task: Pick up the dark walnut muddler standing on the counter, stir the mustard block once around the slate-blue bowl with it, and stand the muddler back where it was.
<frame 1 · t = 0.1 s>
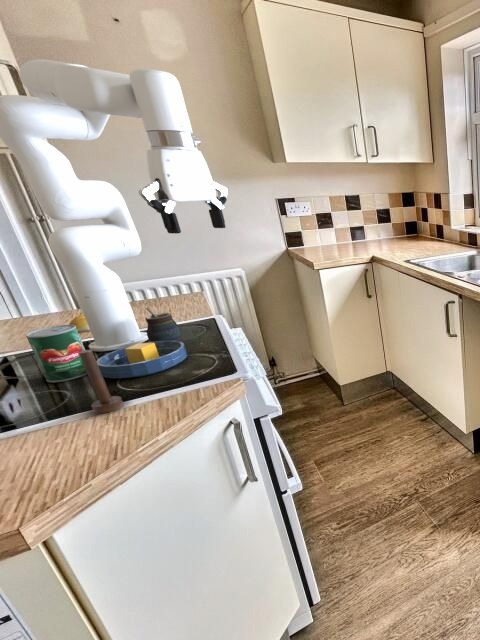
hand: (198, 230, 91), 31 cm above the worktop, tool pointing down, fingers open, 9 cm apart
canned tomato: (71, 375, 98), on the worktop
mate gourd: (167, 344, 116), on the worktop
muddler: (109, 408, 82), on the worktop
bowl: (146, 365, 102), on the worktop
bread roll: (89, 328, 131), on the worktop
block: (145, 361, 103), point 1 cm above the worktop, touching bowl
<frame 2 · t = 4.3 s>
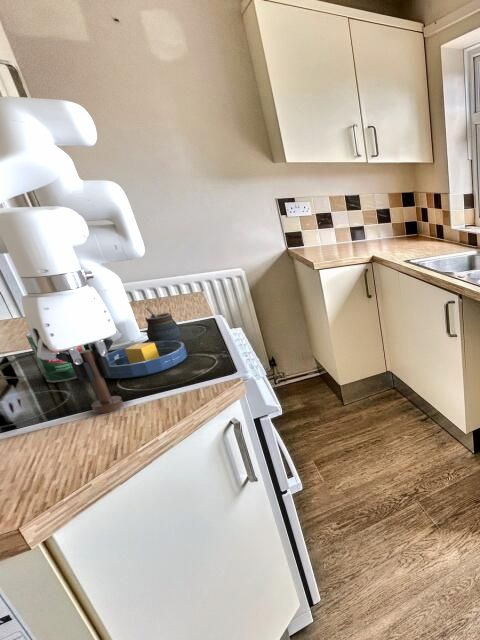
hand: (96, 377, 80), 7 cm above the worktop, tool pointing down, fingers closed on muddler
muddler: (109, 407, 82), on the worktop, touching gripper
everything else where it was.
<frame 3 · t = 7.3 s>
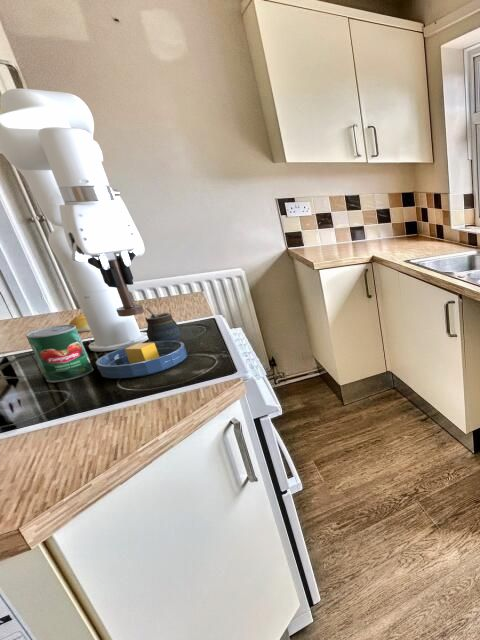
hand: (120, 285, 91), 21 cm above the worktop, tool pointing down, fingers closed on muddler
muddler: (131, 313, 94), point 14 cm above the worktop, touching gripper
everything else where it was.
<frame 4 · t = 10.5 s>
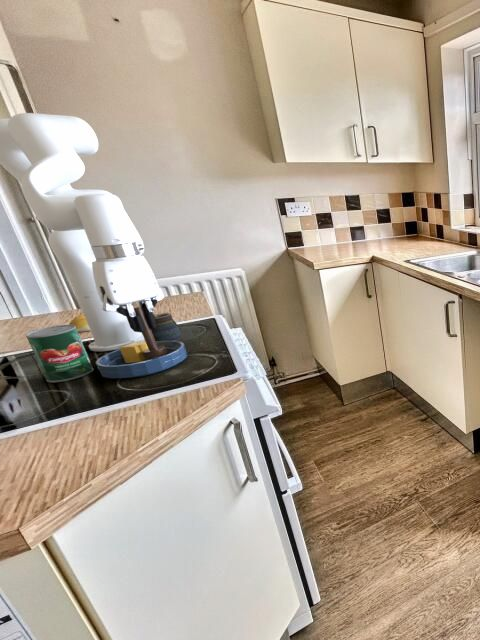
hand: (145, 329, 101), 9 cm above the worktop, tool pointing down, fingers closed on muddler
muddler: (155, 354, 103), point 2 cm above the worktop, touching block, gripper
block: (140, 359, 103), point 1 cm above the worktop, touching bowl, muddler
everything else where it was.
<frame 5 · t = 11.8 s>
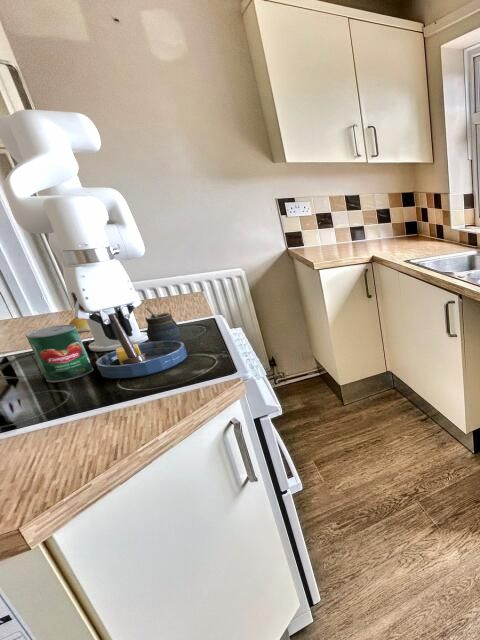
hand: (120, 336, 97), 8 cm above the worktop, tool pointing down, fingers closed on muddler
muddler: (136, 362, 98), point 2 cm above the worktop, tilted 14°, touching gripper
block: (132, 363, 102), point 1 cm above the worktop, touching bowl
everything else where it was.
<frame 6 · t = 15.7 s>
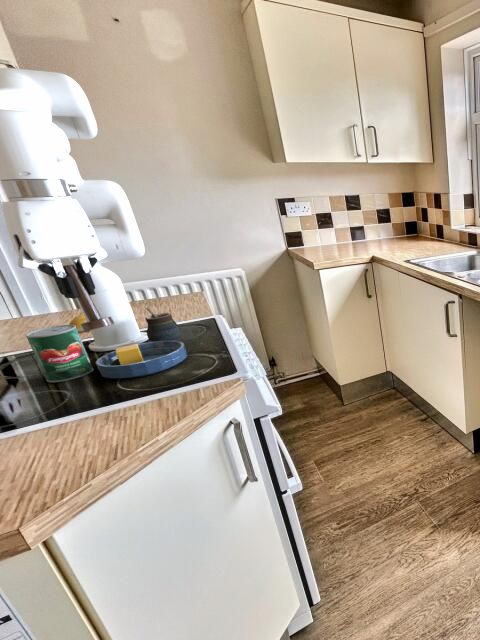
hand: (80, 295, 79), 22 cm above the worktop, tool pointing down, fingers closed on muddler
muddler: (99, 327, 80), point 15 cm above the worktop, tilted 13°, touching gripper
everything else where it was.
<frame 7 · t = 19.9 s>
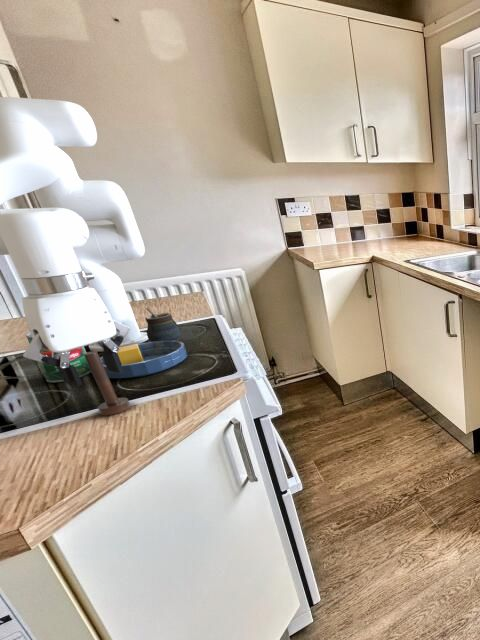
hand: (96, 377, 80), 7 cm above the worktop, tool pointing down, fingers open, 5 cm apart
muddler: (115, 409, 81), on the worktop
everything else where it was.
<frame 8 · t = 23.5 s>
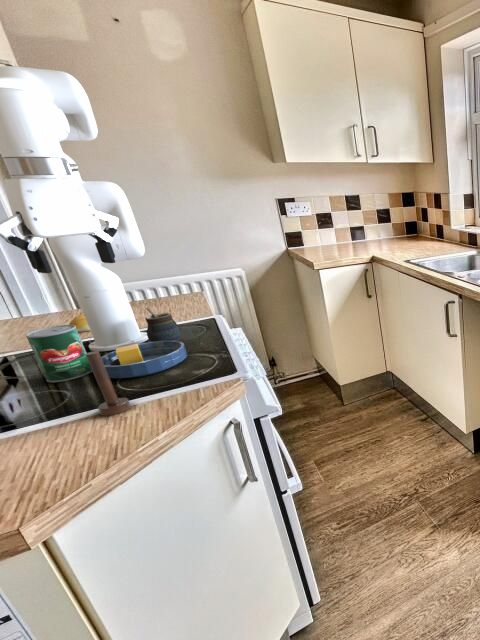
hand: (78, 267, 80), 26 cm above the worktop, tool pointing down, fingers open, 9 cm apart
nothing on the worktop moved.
at the end: block moved 2.4 cm from its start; block inside the target area in the bowl (3.5 cm from its centre), point 0.6 cm above the bowl's base; muddler inside the target area (2.3 cm from its centre), on the worktop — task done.
